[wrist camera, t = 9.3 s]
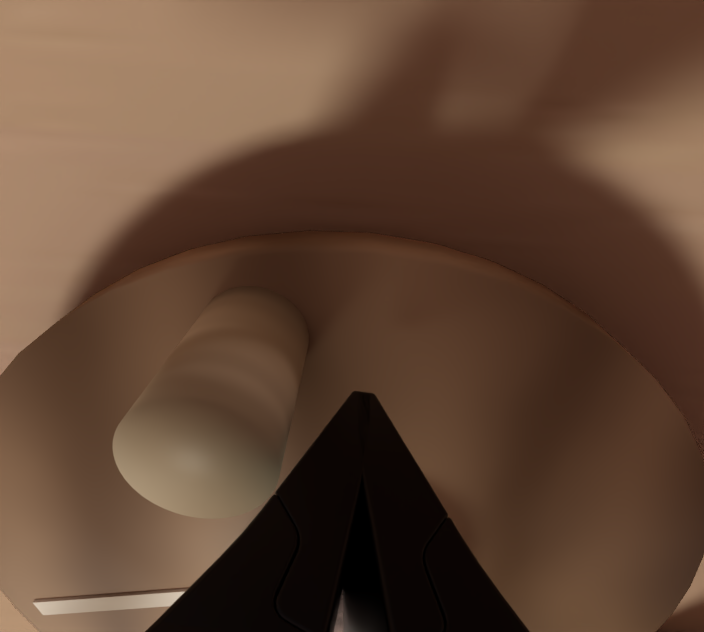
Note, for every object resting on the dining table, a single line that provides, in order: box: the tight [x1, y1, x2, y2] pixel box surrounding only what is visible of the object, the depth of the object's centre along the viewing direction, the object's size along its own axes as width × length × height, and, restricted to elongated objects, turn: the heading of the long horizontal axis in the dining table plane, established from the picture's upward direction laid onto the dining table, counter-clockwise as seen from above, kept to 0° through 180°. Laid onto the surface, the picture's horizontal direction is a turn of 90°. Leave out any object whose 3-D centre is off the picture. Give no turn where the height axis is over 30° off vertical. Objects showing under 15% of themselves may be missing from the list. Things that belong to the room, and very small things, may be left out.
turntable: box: [0, 230, 704, 632], centre depth 14 cm, size 24×24×6 cm
